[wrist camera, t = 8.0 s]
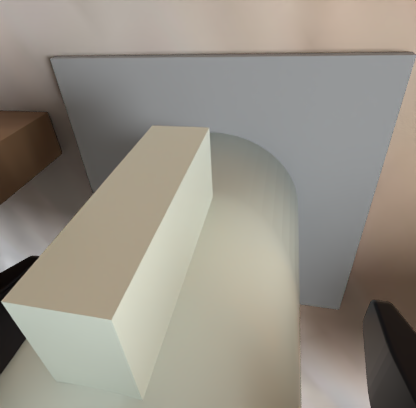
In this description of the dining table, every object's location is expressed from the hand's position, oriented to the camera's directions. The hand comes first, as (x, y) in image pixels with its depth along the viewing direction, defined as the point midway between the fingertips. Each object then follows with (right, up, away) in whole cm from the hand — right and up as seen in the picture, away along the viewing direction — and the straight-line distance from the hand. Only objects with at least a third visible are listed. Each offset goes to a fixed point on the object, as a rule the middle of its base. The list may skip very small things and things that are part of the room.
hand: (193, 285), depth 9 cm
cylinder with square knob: (+1, +2, +3) cm, 4 cm away
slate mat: (+1, +2, +3) cm, 4 cm away
